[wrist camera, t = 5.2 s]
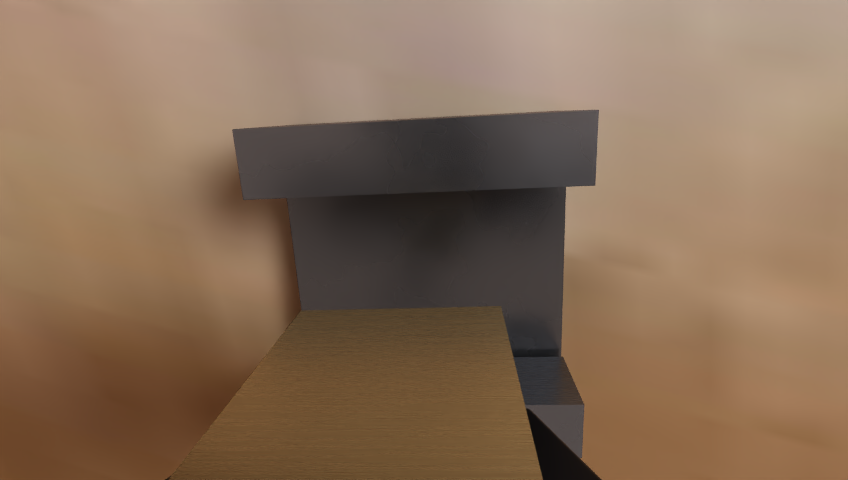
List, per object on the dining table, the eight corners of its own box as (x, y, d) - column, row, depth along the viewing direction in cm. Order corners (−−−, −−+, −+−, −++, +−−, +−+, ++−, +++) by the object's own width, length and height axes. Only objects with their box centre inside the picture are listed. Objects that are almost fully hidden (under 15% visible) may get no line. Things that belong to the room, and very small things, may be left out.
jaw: (559, 466, 19) (578, 530, 16) (319, 465, 20) (296, 526, 17) (562, 356, 17) (583, 404, 15) (305, 360, 18) (276, 406, 15)
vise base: (552, 401, 20) (581, 485, 15) (323, 402, 20) (287, 483, 16) (560, 110, 17) (598, 110, 12) (289, 125, 17) (232, 129, 13)
